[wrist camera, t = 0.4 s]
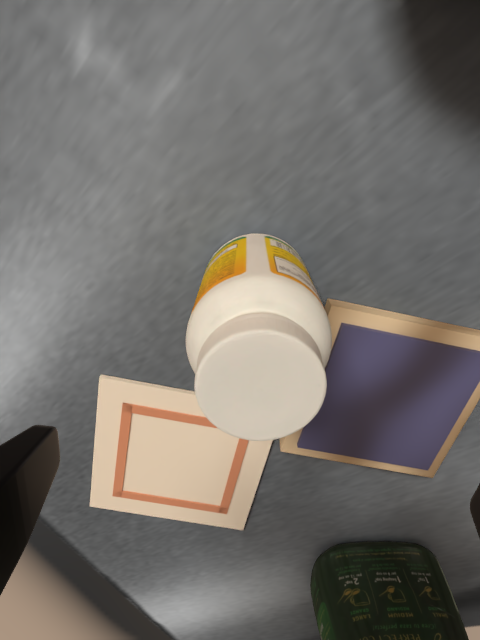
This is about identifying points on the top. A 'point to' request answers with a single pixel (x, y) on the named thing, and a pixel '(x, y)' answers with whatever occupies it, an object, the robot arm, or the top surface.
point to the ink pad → (392, 391)
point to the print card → (170, 457)
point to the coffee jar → (383, 594)
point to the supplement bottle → (258, 340)
